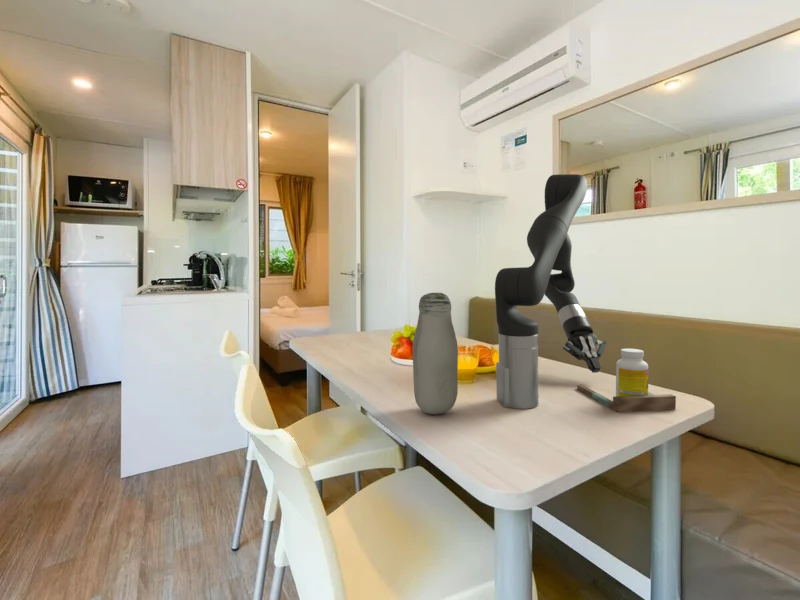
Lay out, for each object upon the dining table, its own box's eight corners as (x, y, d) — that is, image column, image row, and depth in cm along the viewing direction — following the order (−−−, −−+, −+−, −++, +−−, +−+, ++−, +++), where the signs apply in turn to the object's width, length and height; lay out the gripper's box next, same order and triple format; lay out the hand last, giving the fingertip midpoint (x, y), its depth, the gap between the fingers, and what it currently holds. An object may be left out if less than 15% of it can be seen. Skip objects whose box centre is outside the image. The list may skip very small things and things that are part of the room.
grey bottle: (432, 423, 82) (429, 294, 80) (406, 410, 91) (403, 293, 89) (467, 413, 87) (465, 292, 85) (439, 402, 96) (437, 291, 94)
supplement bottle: (652, 408, 88) (653, 353, 87) (620, 406, 89) (621, 352, 89) (642, 399, 94) (642, 347, 93) (612, 397, 96) (612, 347, 95)
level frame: (616, 411, 86) (617, 398, 86) (577, 388, 104) (577, 378, 103) (675, 409, 87) (675, 396, 87) (626, 386, 104) (626, 376, 104)
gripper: (557, 315, 115) (578, 365, 103) (600, 314, 115) (625, 363, 104) (549, 330, 120) (568, 378, 109) (590, 328, 121) (613, 377, 109)
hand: (596, 371), depth 106 cm, fingers closed
